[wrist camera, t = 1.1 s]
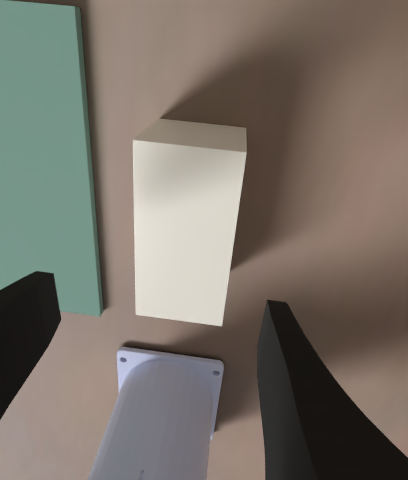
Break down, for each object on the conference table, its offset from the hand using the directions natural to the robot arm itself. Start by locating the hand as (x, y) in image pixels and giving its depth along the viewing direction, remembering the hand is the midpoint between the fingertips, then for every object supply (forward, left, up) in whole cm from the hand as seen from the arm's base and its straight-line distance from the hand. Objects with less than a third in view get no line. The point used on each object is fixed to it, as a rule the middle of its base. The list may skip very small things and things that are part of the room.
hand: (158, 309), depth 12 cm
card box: (0, 0, -10) cm, 10 cm away
